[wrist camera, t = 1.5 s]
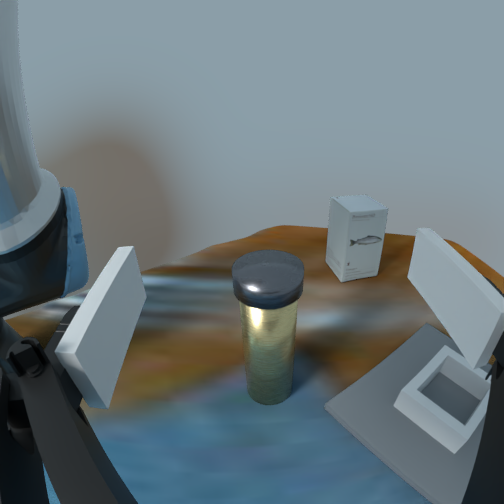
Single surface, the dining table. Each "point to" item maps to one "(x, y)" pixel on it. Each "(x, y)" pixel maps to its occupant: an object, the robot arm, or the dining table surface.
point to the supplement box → (355, 236)
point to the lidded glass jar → (268, 320)
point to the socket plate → (421, 414)
